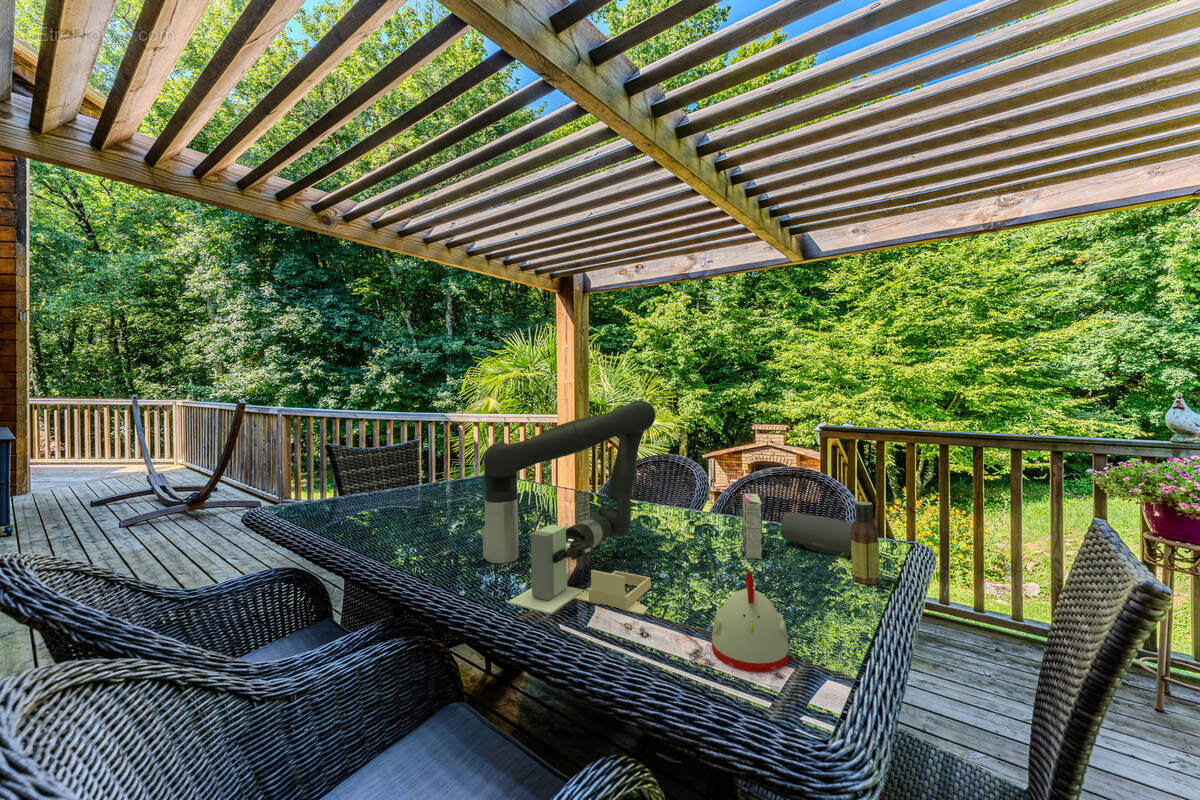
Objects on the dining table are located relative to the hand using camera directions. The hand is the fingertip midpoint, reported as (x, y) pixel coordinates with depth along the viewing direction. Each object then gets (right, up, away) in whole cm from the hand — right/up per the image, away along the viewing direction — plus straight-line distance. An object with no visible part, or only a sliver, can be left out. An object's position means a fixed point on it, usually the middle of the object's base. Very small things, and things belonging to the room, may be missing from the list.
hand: (545, 557), depth 124 cm
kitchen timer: (+41, -11, -24) cm, 49 cm away
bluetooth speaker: (+79, -8, +32) cm, 86 cm away
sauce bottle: (+80, -9, +9) cm, 81 cm away
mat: (0, -10, +1) cm, 10 cm away
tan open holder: (+19, -9, +3) cm, 21 cm away
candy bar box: (+57, -8, +31) cm, 66 cm away
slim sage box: (+1, -9, +2) cm, 9 cm away
